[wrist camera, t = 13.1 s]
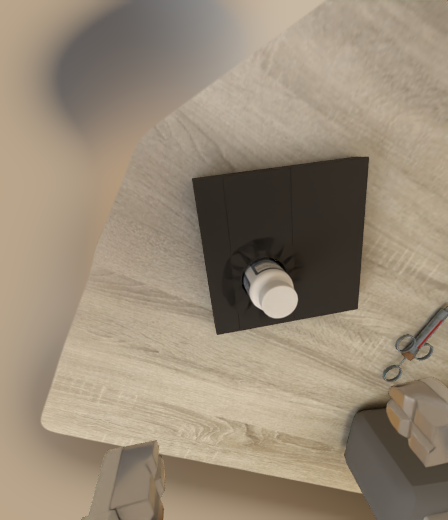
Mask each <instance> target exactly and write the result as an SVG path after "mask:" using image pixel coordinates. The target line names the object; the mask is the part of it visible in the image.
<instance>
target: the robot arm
mask: <svg viewBox="0 0 448 520" xmlns="http://www.w3.org/2000/svg"><path fill="white" fill-rule="evenodd" d="M388 394H389V395H390V397H391V399H390V400H389V401H388V403H387V407H386V412H387V415H388V418H389V420H390V422H391V424H392V425H393V427H394V428H395V429H396V431H397V432H398V433H399V434H401V435H402V436H404V437H406V438H408V443H409V447H410V448H411V449H412V451H413V452H414V453H415V454H416V456H417V457H418V458H419V459H420V461H421V462H422V463H423V464H424V466H425V467H430V466H435V465H439V464H444V463H448V388H447V387H446V386H445V385H444V384H443V383H441V382H440V381H439V380H438V379H436V378H434V377H428V378H424V379H420V380H414V381H410V382H406V383H402V384H398V385H394V386H391V387H390V388H389V393H388ZM164 491H165V468H164V462H163V458H162V456H161V455H159V445H158V442H157V440H155V441H150V442H145V443H140V444H135V445H130V446H126V447H120V448H116V449H112V450H108V451H107V452H106V454H105V456H104V459H103V462H102V466H101V470H100V474H99V478H98V481H97V485H96V490H95V493H94V497H93V501H92V505H91V509H90V512H89V516H85V517H83V518H82V519H81V520H163V513H164V508H163V505H162V502H161V499H160V498H161V497H162V495H163V493H164Z"/></svg>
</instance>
